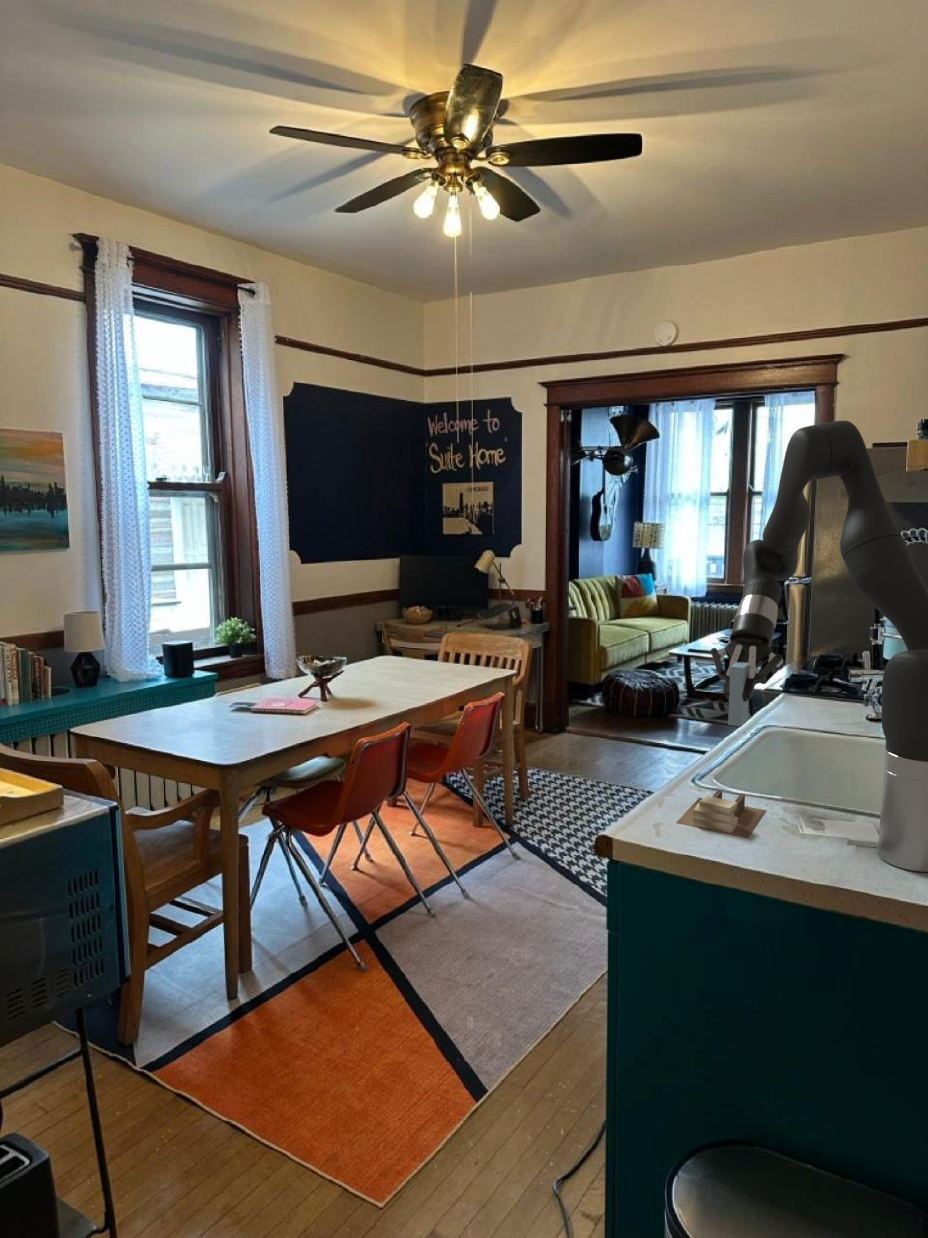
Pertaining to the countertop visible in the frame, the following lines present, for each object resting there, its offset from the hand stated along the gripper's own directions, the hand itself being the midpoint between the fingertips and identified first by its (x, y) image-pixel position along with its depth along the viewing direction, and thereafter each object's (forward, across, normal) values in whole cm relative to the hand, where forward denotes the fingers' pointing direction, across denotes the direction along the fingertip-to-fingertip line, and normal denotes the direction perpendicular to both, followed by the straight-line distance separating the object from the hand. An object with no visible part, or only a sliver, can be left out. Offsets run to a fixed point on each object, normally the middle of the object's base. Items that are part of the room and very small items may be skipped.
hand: (736, 697), depth 148 cm
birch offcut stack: (+24, +1, +2) cm, 25 cm away
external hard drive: (+19, +19, +10) cm, 29 cm away
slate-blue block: (+2, 0, +5) cm, 6 cm away
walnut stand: (+22, +1, +6) cm, 23 cm away
